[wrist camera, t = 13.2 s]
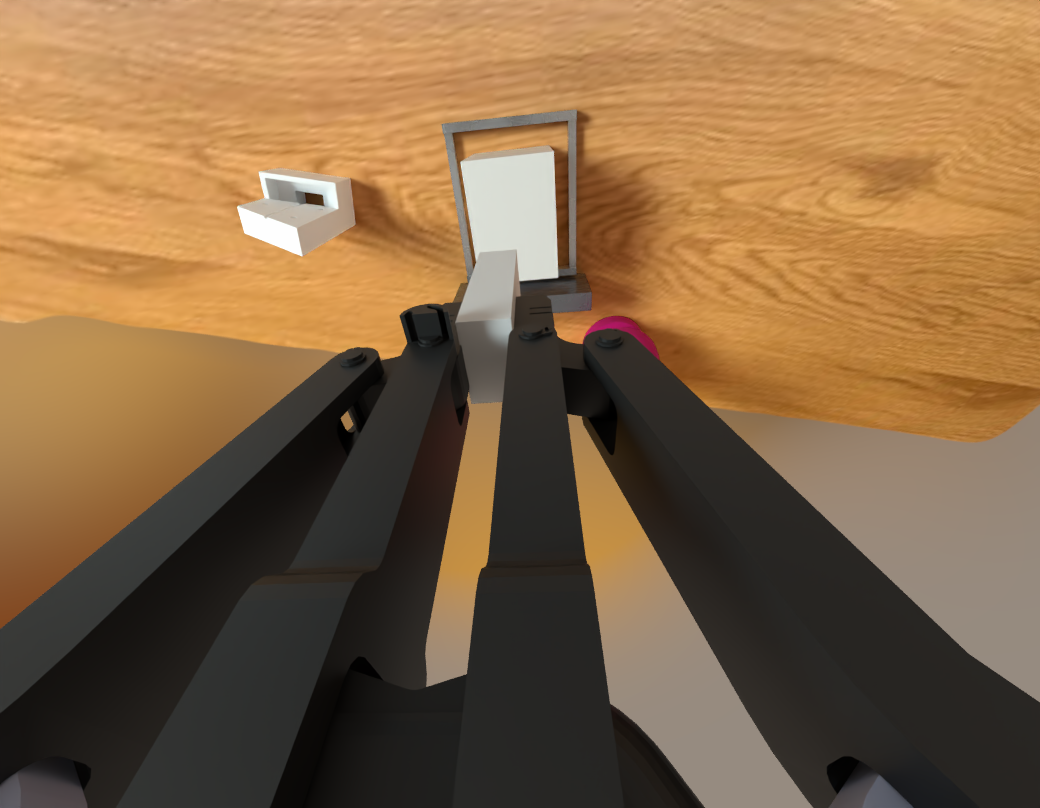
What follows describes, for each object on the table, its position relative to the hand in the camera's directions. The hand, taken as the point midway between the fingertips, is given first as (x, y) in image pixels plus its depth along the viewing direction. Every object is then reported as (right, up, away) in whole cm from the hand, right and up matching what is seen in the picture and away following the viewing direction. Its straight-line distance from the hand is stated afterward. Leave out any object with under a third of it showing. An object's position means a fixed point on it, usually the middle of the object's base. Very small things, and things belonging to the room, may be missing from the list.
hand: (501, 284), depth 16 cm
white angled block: (-17, +13, +17) cm, 27 cm away
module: (0, +12, +17) cm, 21 cm away
